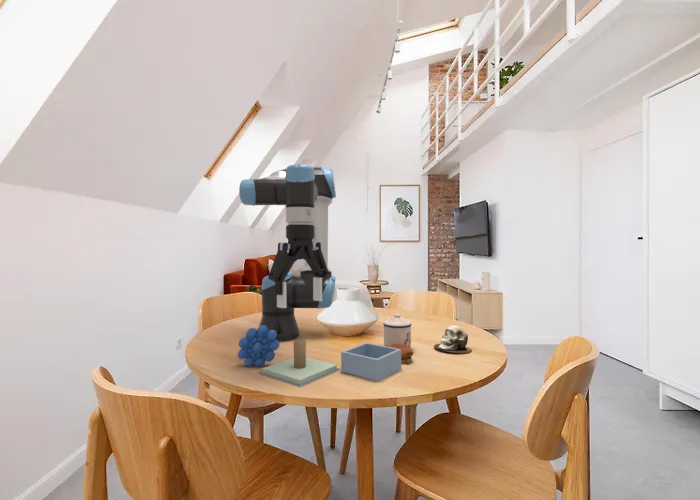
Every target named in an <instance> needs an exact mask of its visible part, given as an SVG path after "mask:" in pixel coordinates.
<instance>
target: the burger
mask: <svg viewBox="0 0 700 500" xmlns="http://www.w3.org/2000/svg"><path fill="white" fill-rule="evenodd" d="M385 346H386V347H391V348H396V349H401V365H405V366H408V365H410V364H411V362H412V360H413V359H412V357H413V355H414V351H413V349H412V348H410V347H409V346H407V345H403V344H388V345H385Z"/></svg>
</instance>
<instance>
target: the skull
mask: <svg viewBox="0 0 700 500" xmlns="http://www.w3.org/2000/svg"><path fill="white" fill-rule="evenodd" d="M441 336H442V337H441V339H440V343H436V344H434V345H433V347H434V348H435V349H437V350H438V351H441V352H448V353H452V354H456V355H458V354H470V353H471V352H472V351H473V349H472V348H471V349H470V350H469V349H468V348H465V347H466V346H467V345H468V342H469V339H468V338H469V336H468V333H467V332H466V331H465V330H464V329H463V328H462V327H461V326H459V325H455V324H454V325H450V326H448V327H447V328H445V329H444V334H442V335H441Z"/></svg>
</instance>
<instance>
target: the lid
mask: <svg viewBox="0 0 700 500" xmlns="http://www.w3.org/2000/svg"><path fill="white" fill-rule="evenodd" d="M306 351H307V340H306V339H302V338H298V339H297V338H296V339H293V357H292V358H289V359H285V360H283V361H280V362H277V363H274V364H271V365H268V366H265V367H263V368H261V372H262V373H264V374H267V375H270V376H273V377H277V378H280V379H283V380H286V381H289V382H292V383H295V384H298V385H301V384H304V383H306V382H308V381H311V380H313V379H315V378H318V377H320V376H323V375H325V374H327V373H330V372H332V371H334V370H337V368H338V367H337V366H338V365H337V364H333V363H330V362H327V361H322V360H318V359H314V358H310V357H307V352H306Z"/></svg>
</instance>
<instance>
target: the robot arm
mask: <svg viewBox="0 0 700 500" xmlns="http://www.w3.org/2000/svg"><path fill="white" fill-rule="evenodd" d="M335 186H336V184H335V178H334V172H333V169H332V168H330V167H322V166H319V167H316V166H315V167H313V166H311V165H310V164H290V165H288V166H287V167H286V168H284V169H280V170H276V171H274V172H272V173H271V174H270V175H269V176H266V177H263V178H250V179H249V178H248V179H247V178H245V179H242V180H241V181H240V184H239V188H238V190H239V199H240V202H241V203H242V204H243V205H245V206H253V207H254V206H285V223H286V226H285V238H286V239H287V242H278V243H277V252H276V254H275V257H274V260H273V263H272V265H271V269H270V271H269V273H268V275H266V276H264V277H263V278H262V280H261V281H262V283H261V319H260V323H259V326H258V328H259V327H260V326H261V325H265V326H266V327H267V328H268V331H270V330H275V331H276V333H277V336H276V338H275V339H274V340H278V341H279V342H286V341H292V340H296V339H297V338H299V337H300V329H299V327H298V323H297V318H296V317H295V309H318V310H319V309H328V308H331V306H332V304H333V301H334V294H335V289H336V288H335V287H336V276H334V275H332V270H330V268H329V267H328V263H329V262H328V259H329V256H328V255H329V253H328V250H329V247H328V246H329V243H328V242H329V206H330V205H331V204H332V203H333V199H335V198H336V197H337V195H336V187H335ZM298 260H304V266H303V268H302V269H301V270H300V274H299V275H298V276H295V275H296V274H295V272H292V271H291V272H290V270H291V269H292V267H293V265H294V264H295V263H296V261H298Z"/></svg>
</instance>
